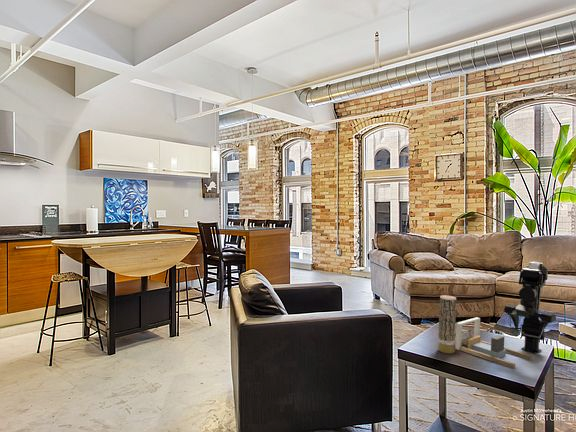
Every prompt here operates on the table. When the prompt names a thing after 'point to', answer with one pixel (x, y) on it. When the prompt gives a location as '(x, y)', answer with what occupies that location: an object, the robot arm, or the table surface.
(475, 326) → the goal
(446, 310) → the bark log
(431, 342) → the table surface
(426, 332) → the table surface
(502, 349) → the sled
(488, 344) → the rails
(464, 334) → the game die
